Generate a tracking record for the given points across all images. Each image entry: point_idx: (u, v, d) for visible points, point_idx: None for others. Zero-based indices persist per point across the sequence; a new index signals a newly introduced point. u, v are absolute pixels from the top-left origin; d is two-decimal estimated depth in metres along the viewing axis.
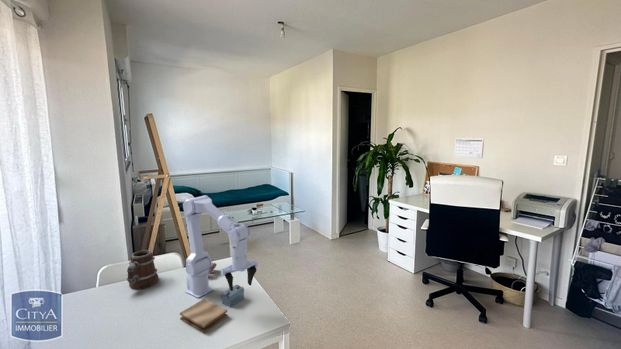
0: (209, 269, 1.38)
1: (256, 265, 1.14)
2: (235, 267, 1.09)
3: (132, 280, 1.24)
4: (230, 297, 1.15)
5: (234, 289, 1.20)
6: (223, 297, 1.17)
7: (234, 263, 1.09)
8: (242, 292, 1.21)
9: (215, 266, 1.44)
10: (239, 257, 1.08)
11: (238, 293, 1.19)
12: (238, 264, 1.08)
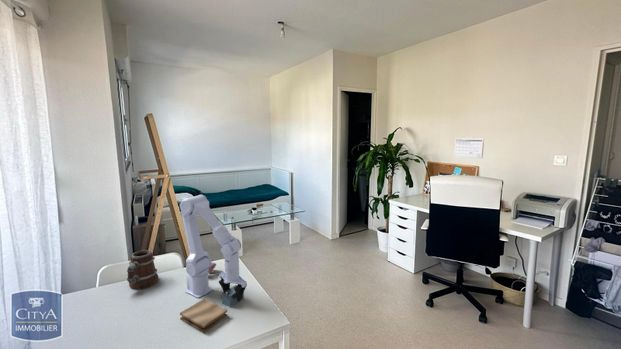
0: (209, 269, 1.38)
1: (242, 286, 1.14)
2: None
3: (132, 280, 1.24)
4: (230, 297, 1.15)
5: None
6: (223, 297, 1.17)
7: None
8: None
9: (215, 265, 1.44)
10: (232, 270, 1.15)
11: None
12: (225, 275, 1.17)
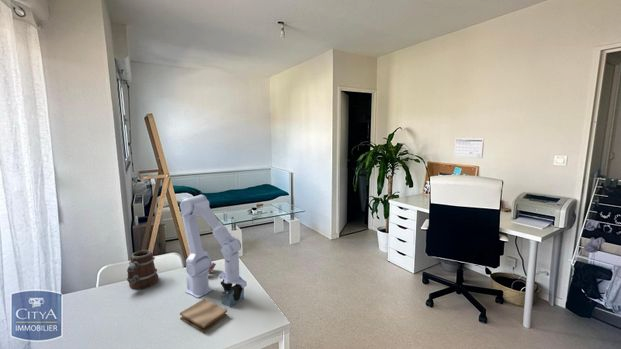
0: None
1: (242, 286, 1.14)
2: None
3: (132, 280, 1.24)
4: (230, 297, 1.15)
5: None
6: (223, 297, 1.17)
7: None
8: (242, 292, 1.21)
9: (214, 266, 1.44)
10: (232, 270, 1.15)
11: None
12: (225, 275, 1.17)
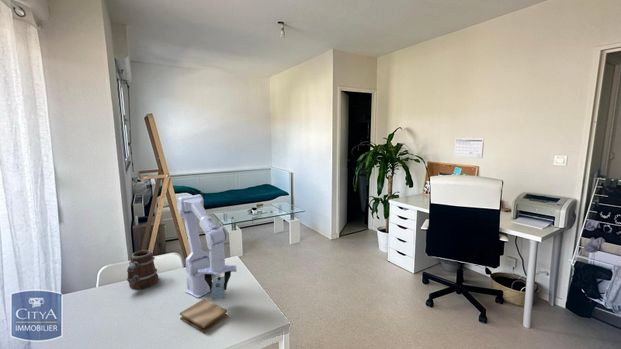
0: None
1: (234, 270, 1.12)
2: (211, 270, 1.09)
3: (132, 280, 1.24)
4: (223, 287, 1.10)
5: (218, 280, 1.13)
6: (214, 291, 1.08)
7: (210, 265, 1.09)
8: None
9: None
10: (214, 260, 1.08)
11: (224, 282, 1.14)
12: (213, 267, 1.09)
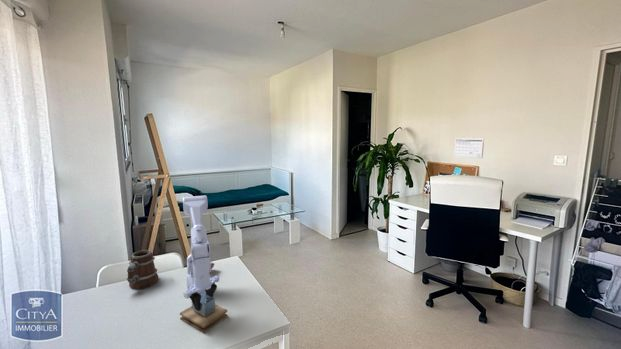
0: None
1: (218, 280, 1.12)
2: (199, 286, 1.03)
3: (132, 280, 1.24)
4: None
5: (201, 297, 1.08)
6: (206, 307, 1.04)
7: (198, 282, 1.03)
8: None
9: (213, 266, 1.44)
10: (196, 275, 1.03)
11: None
12: (203, 283, 1.04)
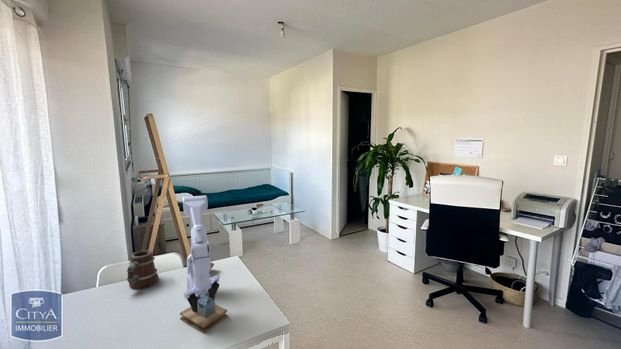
0: None
1: (218, 280, 1.12)
2: (199, 286, 1.03)
3: (132, 280, 1.24)
4: None
5: (201, 299, 1.08)
6: (206, 308, 1.04)
7: (198, 282, 1.03)
8: None
9: (212, 266, 1.44)
10: (196, 275, 1.03)
11: None
12: (203, 283, 1.04)
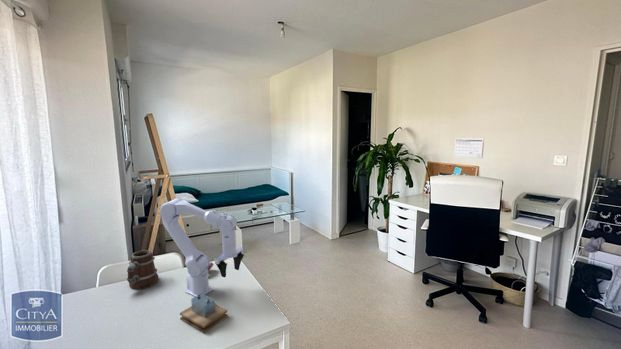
0: None
1: (242, 251, 1.28)
2: (227, 255, 1.20)
3: (132, 280, 1.24)
4: None
5: (201, 299, 1.08)
6: (206, 308, 1.04)
7: (226, 251, 1.20)
8: None
9: (212, 265, 1.44)
10: (231, 245, 1.20)
11: None
12: (230, 251, 1.20)
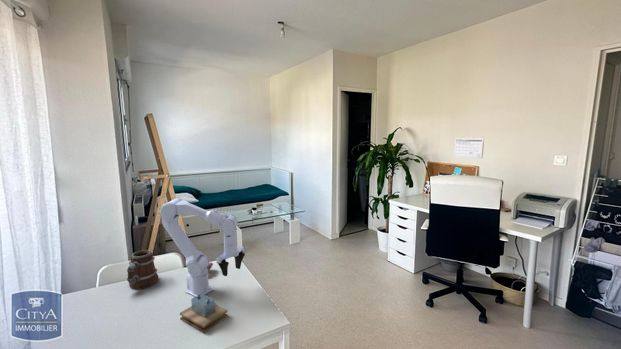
0: None
1: (243, 250, 1.29)
2: (229, 254, 1.21)
3: (132, 280, 1.24)
4: None
5: (201, 299, 1.08)
6: (206, 308, 1.04)
7: (228, 250, 1.21)
8: None
9: (211, 266, 1.45)
10: (233, 244, 1.22)
11: None
12: (232, 250, 1.22)
